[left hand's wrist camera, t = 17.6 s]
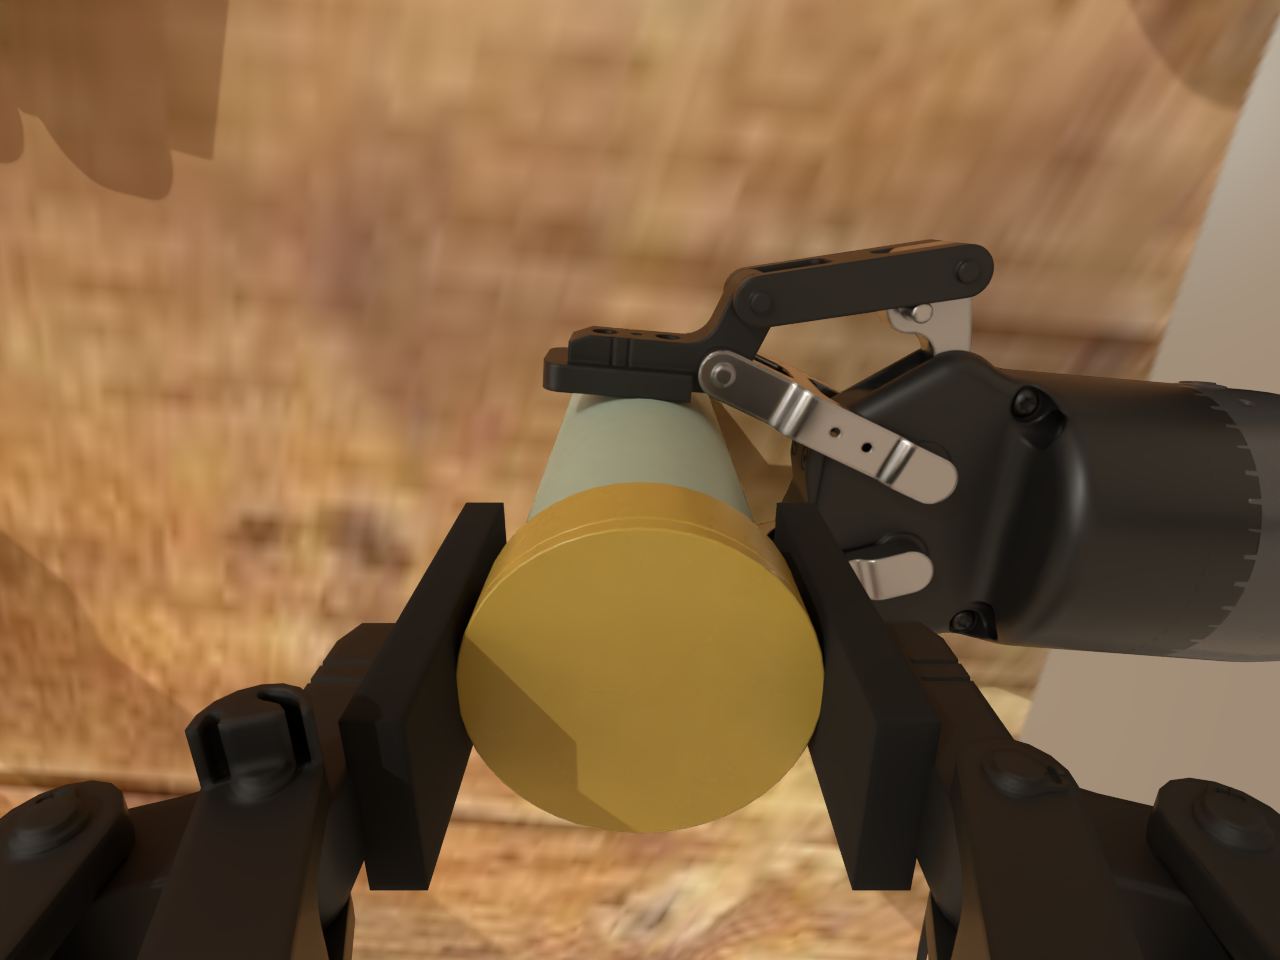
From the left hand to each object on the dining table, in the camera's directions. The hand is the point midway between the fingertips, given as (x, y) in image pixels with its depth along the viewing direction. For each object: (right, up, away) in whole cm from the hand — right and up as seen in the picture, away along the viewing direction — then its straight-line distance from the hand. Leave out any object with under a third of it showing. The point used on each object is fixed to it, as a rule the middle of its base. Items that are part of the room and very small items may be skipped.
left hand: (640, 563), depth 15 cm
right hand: (-3, +2, +5) cm, 6 cm away
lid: (0, -1, -4) cm, 4 cm away
